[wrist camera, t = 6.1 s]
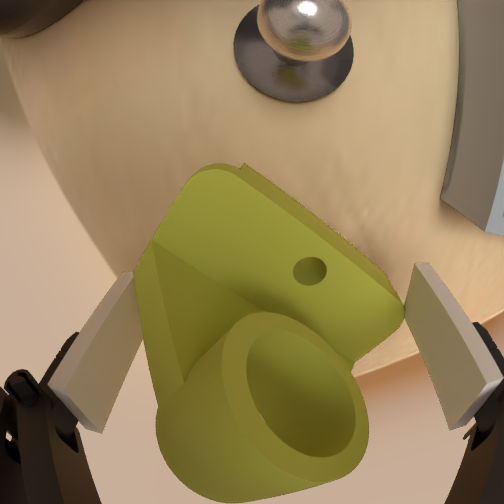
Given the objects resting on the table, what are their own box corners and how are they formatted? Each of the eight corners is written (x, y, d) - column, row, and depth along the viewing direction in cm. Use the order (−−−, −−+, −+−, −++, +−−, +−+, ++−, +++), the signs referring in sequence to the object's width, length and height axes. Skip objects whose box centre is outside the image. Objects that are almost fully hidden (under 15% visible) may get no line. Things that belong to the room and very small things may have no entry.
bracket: (400, 286, 14) (473, 460, 5) (323, 351, 17) (337, 514, 8) (217, 144, 11) (55, 298, 3) (151, 247, 14) (41, 425, 5)
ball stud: (231, 97, 14) (199, 90, 8) (239, -3, 11) (216, -65, 5) (346, 109, 14) (398, 114, 7) (352, 10, 11) (401, -40, 5)
